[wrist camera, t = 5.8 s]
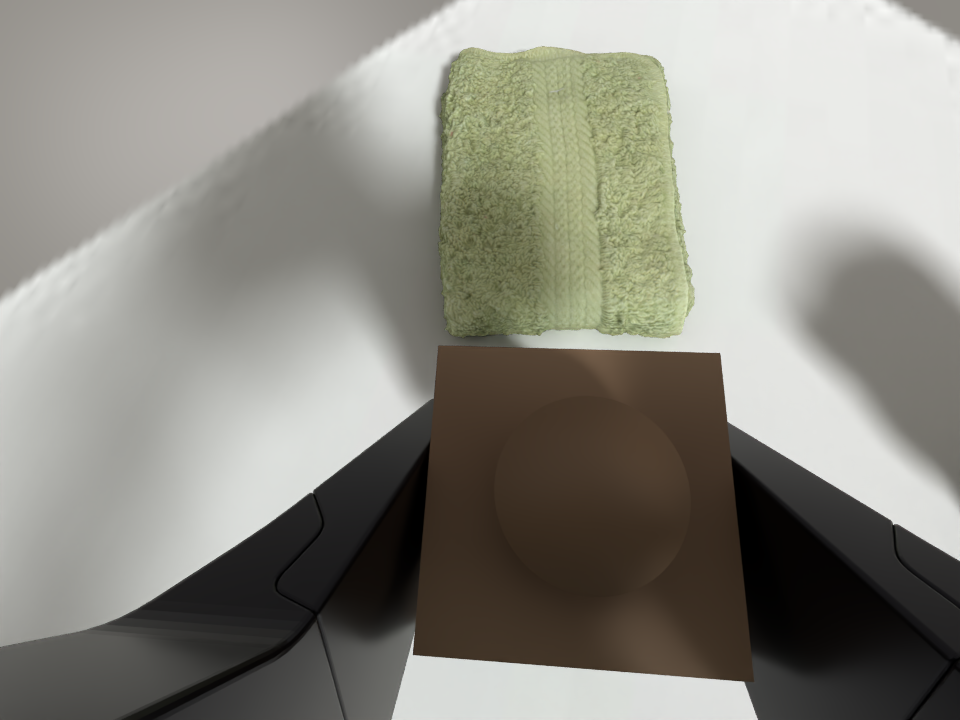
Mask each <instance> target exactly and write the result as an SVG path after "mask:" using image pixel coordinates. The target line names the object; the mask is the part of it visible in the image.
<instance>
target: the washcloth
mask: <svg viewBox="0 0 960 720" xmlns="http://www.w3.org/2000/svg"><path fill="white" fill-rule="evenodd" d="M451 65H452V67H451V70H450V71H451V73H450V75H449V76H448V79H449V84H448V88H447V91H446V93H443V96H442V97H441V104H442V111H441V114H440V115H439V117H440V118H441V120H442V121H443V122H442V125H443V133H442V135H441V139H442V149H443V152H442V156H441V158H442V160H443V163H442V164H441V165H442V167H443V171H442V186H441V193H440V199H441V213H440V214H441V219H440V220H441V222H440V227H439V237H440V240H441V241H440V242H438V245H439V249H438V251H439V254H440V257H441V261H440V265H441V275H440V278H441V280H442V285H443V290H442V292H441V294H442V295H443V296H444V318H445V319H446V320H447V327H446V328H445V329H444V330H448V332H449V333H450V334H451V335H452V336H454V337H457V336H459V337H462V338H464V337H465V336H470V335H471V336H476V335H478V336H486V335H488V334H489V335H495V334H502V333H503V335H506V336H507V335H509V334H513V333H515V334H523V335H536V334H537V335H538V336H540V335H541V334H542V333H543V332H544V331H546V330H550V329H555V330H579V329H597V330H598V331H599V332H600V333H602V334H610V335H612V336H614V335H619V334H620V335H622V334H623V333H625V332H627V333H628V334H630V335H637V334H639V335H641V336H644V337H648V336H649V337H658V338H666V337H670V336H672V335H679V334H681V332H682V328H683V324H684V320H685V317H687V316H688V313H689V311H690V310H691V308H692V306H693V305H694V299H695V297H694V287H693V286H692V284H691V282H690V281H691V277H692V275H693V274H692V270H691V268H690V267H689V265H688V264H687V258H688V256H689V255H688V253H687V251H686V245H685V241H684V237H683V234H684V233H685V232H686V230H684V225H683V223H682V216H681V213H680V210H681V203H680V202H679V198H680V196H679V193H678V188H677V186H676V176H677V175H676V166H675V165H674V163H675V160H674V159H673V158H672V149H673V145H674V144H673V142H672V141H671V139H670V124H671V123H672V122H673V121H671V118H672V117H671V114H670V113H669V110H670V106H671V105H670V99H669V94H668V88H667V87H666V82H667V80H665V79H664V77H665V75H664V71H663V70H664V67H662V66H661V63H660V62H659V61H658V60H657V59H655V58H653V57H652V56H648V55H639V54H635V53H626V52H620V53H603V54H598V53H592V54H585V53H581V52H578V51H574V50H569V49H563V48H556V47H545V46H542V47H536V48H534V49H530V50H527V51H525V52H519V53H495V52H490V51H486V50H483V49H479V48H468V49H464V50H462V51H461V52H460V54H459V57H458V59H457V60H456V61H454V62H452V63H451Z"/></svg>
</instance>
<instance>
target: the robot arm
mask: <svg viewBox="0 0 960 720" xmlns="http://www.w3.org/2000/svg"><path fill="white" fill-rule="evenodd" d="M433 405H434V399H431V400H430V401H428V402H427V403H426V404H424V405H423V406H422V407H421V408H419V409H418V410H417V411H415V412H414V413H413V414H412V415H410V416H409V417H408V418H406V419H405V420H404V421H402V422H401V423H400V424H399V425H397V426H396V427H395V428H393V429H392V430H391V431H389V432H388V433H387V434H386V435H384V436H383V437H382V438H380V439H379V440H378V441H377V442H375V443H374V444H373V445H371V446H370V447H369V448H367V449H366V450H365V451H364V452H362V453H361V454H360V455H358V456H357V457H356V458H355V459H353V460H352V461H351V462H349V463H348V464H347V465H345V466H344V467H343V468H342V469H340V470H339V471H338V472H336V473H335V474H334V475H332V476H331V477H330V478H329V479H327V480H326V481H325V482H323V483H322V484H321V485H320V486H318V487H317V488H316V489H314V491H313V493H309V494H308V495H306V496H305V497H304V498H302V499H301V500H300V501H299V502H297V503H296V504H295V505H293V506H292V507H291V508H289V509H288V510H287V511H285V512H284V513H282V514H281V515H280V516H278V517H277V518H276V519H274V520H273V521H272V522H270V523H269V524H267V525H266V526H265V527H263V528H262V529H260V530H259V531H257V532H256V533H254V534H253V535H251V536H250V537H248V538H247V539H245V540H244V541H242V542H241V543H239V544H238V545H236V546H235V547H233V548H232V549H230V550H229V551H227V552H226V553H224V554H222V555H221V556H219V557H218V558H216V559H215V560H213V561H212V562H210V563H209V564H207V565H205V566H204V567H202V568H201V569H199V570H198V571H196V572H195V573H193V574H191V575H190V576H188V577H187V578H185V579H184V580H182V581H181V582H179V583H178V584H176V585H174V586H173V587H171V588H170V589H168V590H167V591H165V592H164V593H162V594H161V595H159V596H157V597H156V598H154V599H153V600H151V601H149V602H148V603H146V604H144V605H143V606H141V607H139V608H138V609H136V610H134V611H132V612H130V613H128V614H126V615H124V616H122V617H120V618H118V619H115V620H113V621H110V622H108V623H105V624H103V625H100V626H96V627H93V628H90V629H87V630H83V631H79V632H75V633H70V634H65V635H60V636H54V637H49V638H44V639H39V640H34V641H28V642H23V643H18V644H13V645H8V646H3V647H0V720H391V719H392V715H393V711H394V708H395V704H396V700H397V696H398V692H399V689H400V685H401V681H402V677H403V674H404V670H405V666H406V662H407V658H408V655H409V651H410V647H411V643H412V640H413V636H414V632H415V623H416V611H417V599H418V587H419V575H420V563H421V550H422V538H423V526H424V514H425V502H426V490H427V477H428V465H429V453H430V441H431V429H432V417H433ZM727 424H728V433H729V443H730V453H731V462H732V472H733V482H734V491H735V501H736V511H737V520H738V530H739V539H740V549H741V559H742V568H743V578H744V588H745V597H746V607H747V617H748V626H749V636H750V646H751V655H752V665H753V675H754V682H745V685H746V688H747V690H748V693H749V696H750V699H751V702H752V704H753V707H754V710H755V713H756V715H757V718H758V720H960V561H959V560H957V559H955V558H953V557H952V556H950V555H948V554H947V553H945V552H943V551H941V550H940V549H938V548H936V547H935V546H933V545H931V544H929V543H928V542H926V541H924V540H923V539H921V538H919V537H918V536H916V535H914V534H913V533H911V532H910V531H908V530H906V529H905V528H903V527H901V526H900V525H898V524H894V525H893V523H892V521H891V520H889V519H888V518H886V517H884V516H883V515H881V514H879V513H878V512H876V511H874V510H873V509H871V508H870V507H868V506H866V505H865V504H863V503H861V502H860V501H858V500H856V499H855V498H853V497H851V496H850V495H848V494H846V493H845V492H843V491H841V490H840V489H838V488H836V487H835V486H833V485H831V484H830V483H828V482H826V481H825V480H823V479H821V478H820V477H818V476H816V475H815V474H813V473H811V472H810V471H808V470H806V469H805V468H803V467H801V466H800V465H798V464H796V463H795V462H793V461H791V460H790V459H788V458H786V457H785V456H783V455H781V454H780V453H778V452H776V451H775V450H773V449H771V448H770V447H768V446H766V445H765V444H763V443H761V442H760V441H758V440H757V439H755V438H753V437H752V436H750V435H748V434H747V433H745V432H743V431H742V430H740V429H738V428H737V427H735V426H733V425H732V424H730V423H728V422H727Z"/></svg>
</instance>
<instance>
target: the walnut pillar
mask: <svg viewBox="0 0 960 720" xmlns="http://www.w3.org/2000/svg"><path fill="white" fill-rule="evenodd" d="M413 655H420V656H432V657H445V658H457V659H470V660H482V661H495V662H507V663H520V664H532V665H545V666H557V667H570V668H582V669H595V670H607V671H620V672H632V673H645V674H657V675H670V676H682V677H695V678H707V679H719V680H732V681H744V682H754V675H753V665H752V655H751V646H750V636H749V626H748V617H747V607H746V597H745V588H744V578H743V568H742V559H741V549H740V539H739V530H738V520H737V511H736V501H735V491H734V482H733V472H732V462H731V453H730V443H729V433H728V424H727V414H726V404H725V395H724V385H723V375H722V366H721V356H720V353H695V352H658V351H622V350H585V349H548V348H511V347H475V346H438V356H437V368H436V380H435V392H434V405H433V417H432V429H431V441H430V453H429V465H428V477H427V490H426V502H425V514H424V526H423V538H422V550H421V563H420V575H419V587H418V599H417V611H416V623H415V636H414V648H413Z"/></svg>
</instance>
